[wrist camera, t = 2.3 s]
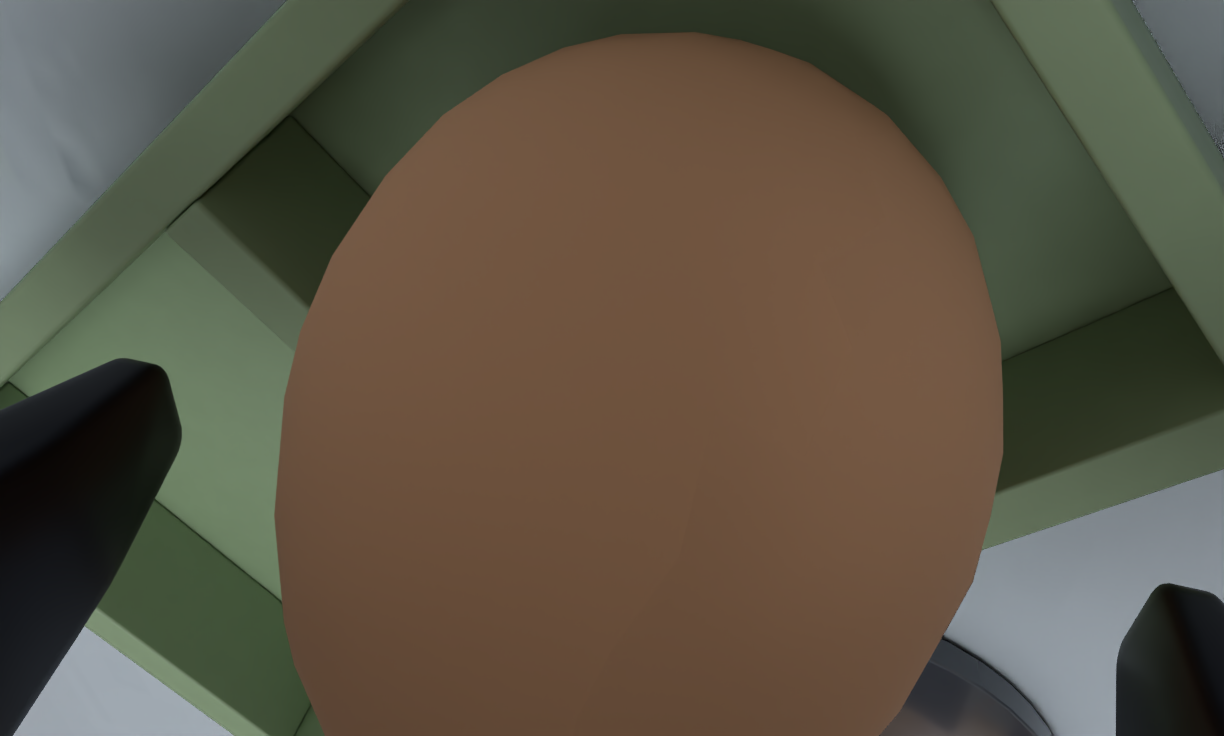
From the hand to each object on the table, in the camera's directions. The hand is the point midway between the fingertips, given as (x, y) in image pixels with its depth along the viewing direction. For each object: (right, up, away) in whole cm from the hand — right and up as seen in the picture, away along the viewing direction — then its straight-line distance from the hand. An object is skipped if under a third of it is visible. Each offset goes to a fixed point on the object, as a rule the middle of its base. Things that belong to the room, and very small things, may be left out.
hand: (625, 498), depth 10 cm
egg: (+1, +4, +4) cm, 6 cm away
